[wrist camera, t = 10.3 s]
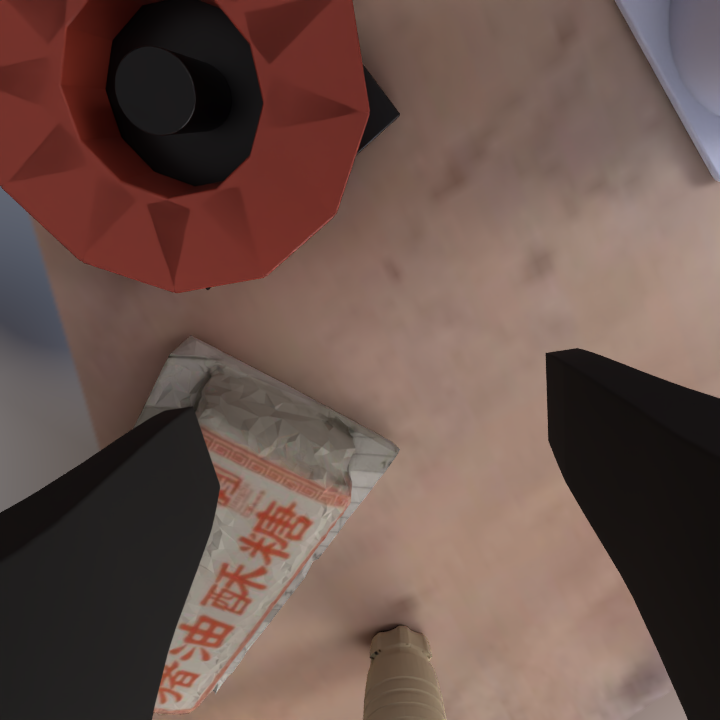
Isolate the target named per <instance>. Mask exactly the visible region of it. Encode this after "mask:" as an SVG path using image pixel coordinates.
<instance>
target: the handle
mask: <svg viewBox="0 0 720 720" xmlns="http://www.w3.org/2000/svg"><path fill="white" fill-rule="evenodd" d="M431 657H432V654H431V649H430V645H429V642H428V639H427V638H426V637H425V636H424V635H423V634H422V633H416V632H414V631H412V630H410V629H409V628H408V627H407V626H398V627H397V628H395V629H393V630H390V631H387V632H379V633H378V634H377V635H376V636H374V638H373V639H372V643H371V649H370V658H371V665H370V669H369V672H368V675H367V682H366V689H365V699H364V715H363V720H447V719H446V714H445V710H444V705H443V700H442V695H441V691H440V687H439V683H438V680H437V677H436V673H435V670H434V668H433V666H432V665H431V664H430V663H429V662H430V658H431Z"/></svg>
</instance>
